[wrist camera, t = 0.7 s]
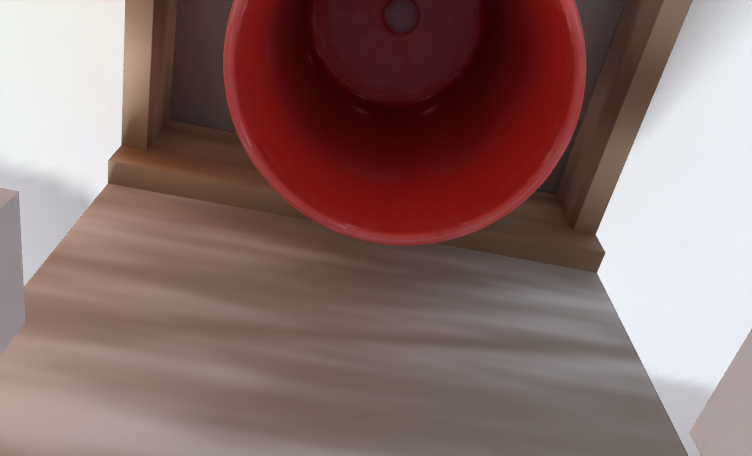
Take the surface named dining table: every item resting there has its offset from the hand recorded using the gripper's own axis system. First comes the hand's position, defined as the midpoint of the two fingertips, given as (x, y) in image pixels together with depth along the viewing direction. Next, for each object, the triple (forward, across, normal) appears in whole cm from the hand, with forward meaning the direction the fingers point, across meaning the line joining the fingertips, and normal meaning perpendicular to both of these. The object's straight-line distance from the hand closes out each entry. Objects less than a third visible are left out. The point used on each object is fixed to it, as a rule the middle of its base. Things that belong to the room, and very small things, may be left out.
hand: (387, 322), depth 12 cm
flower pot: (+19, 0, +1) cm, 19 cm away
